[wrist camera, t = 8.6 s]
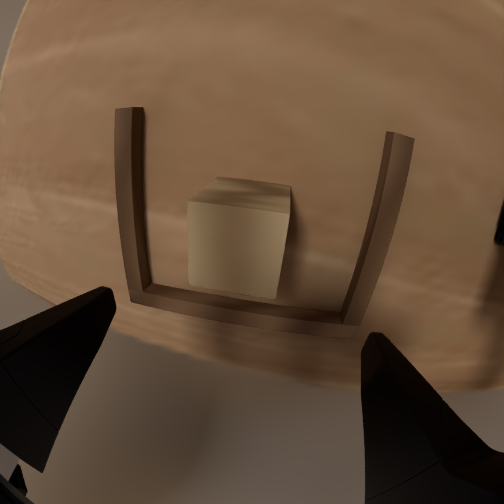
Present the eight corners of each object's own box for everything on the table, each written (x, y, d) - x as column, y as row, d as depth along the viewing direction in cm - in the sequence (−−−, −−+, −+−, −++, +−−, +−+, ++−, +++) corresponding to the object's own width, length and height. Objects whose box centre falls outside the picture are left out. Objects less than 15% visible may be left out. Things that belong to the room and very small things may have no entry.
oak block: (290, 185, 18) (290, 214, 13) (280, 250, 20) (275, 299, 15) (218, 176, 18) (187, 200, 13) (214, 241, 21) (188, 284, 15)
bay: (405, 136, 15) (414, 138, 14) (351, 327, 23) (353, 338, 21) (126, 108, 16) (115, 109, 15) (137, 292, 24) (130, 301, 23)
